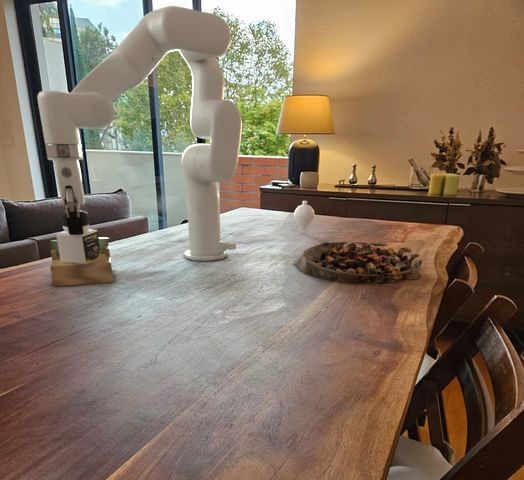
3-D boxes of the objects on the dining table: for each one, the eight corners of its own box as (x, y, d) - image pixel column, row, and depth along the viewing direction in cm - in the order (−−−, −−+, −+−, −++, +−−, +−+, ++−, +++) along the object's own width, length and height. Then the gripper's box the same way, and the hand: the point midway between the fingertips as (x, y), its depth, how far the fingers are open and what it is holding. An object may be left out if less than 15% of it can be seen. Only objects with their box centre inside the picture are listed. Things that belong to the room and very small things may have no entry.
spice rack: (111, 270, 125) (107, 237, 121) (113, 281, 116) (108, 246, 112) (56, 274, 121) (50, 240, 117) (53, 286, 111) (46, 249, 108)
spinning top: (314, 235, 173) (316, 202, 167) (293, 235, 173) (295, 202, 168) (312, 231, 179) (314, 199, 174) (293, 231, 180) (294, 199, 174)
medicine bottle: (86, 264, 111) (79, 213, 106) (60, 262, 112) (51, 212, 107) (101, 257, 117) (95, 209, 112) (76, 256, 119) (68, 208, 113)
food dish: (439, 272, 131) (444, 245, 128) (380, 301, 110) (385, 269, 106) (338, 248, 152) (341, 224, 149) (272, 268, 131) (273, 241, 127)
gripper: (81, 154, 98) (93, 237, 105) (82, 151, 113) (93, 224, 120) (43, 154, 96) (58, 239, 103) (49, 151, 111) (62, 225, 118)
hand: (76, 230), depth 112 cm, fingers closed on medicine bottle, 7 cm apart
